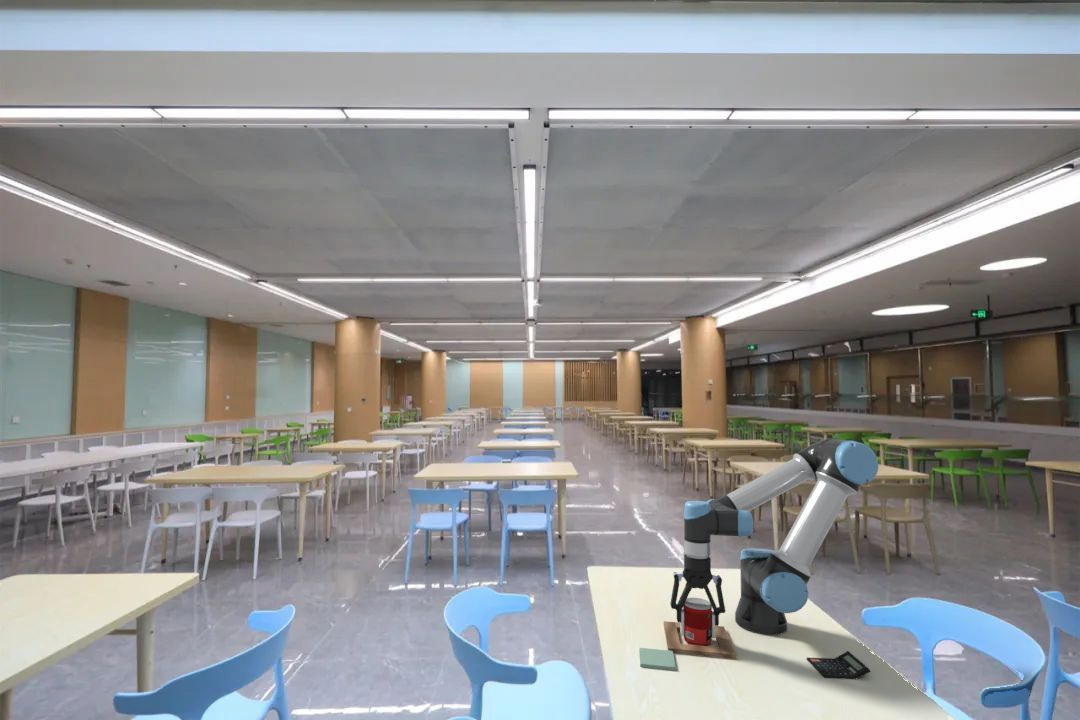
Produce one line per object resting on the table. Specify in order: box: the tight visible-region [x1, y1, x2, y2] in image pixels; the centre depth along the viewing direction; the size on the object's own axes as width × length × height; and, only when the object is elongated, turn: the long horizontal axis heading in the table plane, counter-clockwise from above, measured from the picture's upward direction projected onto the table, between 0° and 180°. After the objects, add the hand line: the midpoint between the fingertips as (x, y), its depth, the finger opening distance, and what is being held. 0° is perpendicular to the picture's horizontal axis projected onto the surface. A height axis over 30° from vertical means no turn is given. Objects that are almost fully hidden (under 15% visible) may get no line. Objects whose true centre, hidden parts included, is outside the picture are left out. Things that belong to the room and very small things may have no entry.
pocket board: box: [663, 620, 737, 660], centre depth 151 cm, size 18×18×1 cm
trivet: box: [638, 647, 677, 671], centre depth 139 cm, size 9×9×1 cm
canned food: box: [682, 597, 713, 646], centre depth 151 cm, size 8×8×11 cm
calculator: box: [806, 650, 871, 680], centre depth 136 cm, size 9×12×3 cm
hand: (697, 634), depth 151 cm, fingers closed on canned food, 8 cm apart
